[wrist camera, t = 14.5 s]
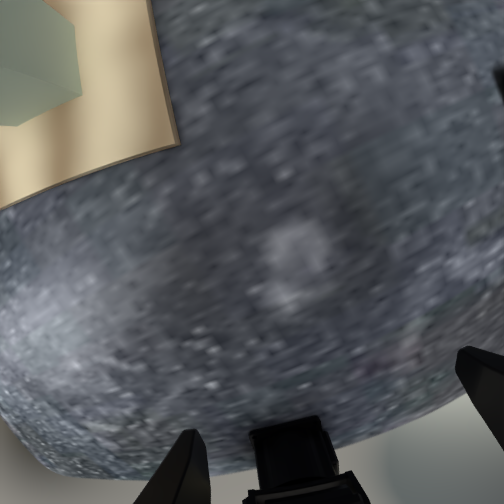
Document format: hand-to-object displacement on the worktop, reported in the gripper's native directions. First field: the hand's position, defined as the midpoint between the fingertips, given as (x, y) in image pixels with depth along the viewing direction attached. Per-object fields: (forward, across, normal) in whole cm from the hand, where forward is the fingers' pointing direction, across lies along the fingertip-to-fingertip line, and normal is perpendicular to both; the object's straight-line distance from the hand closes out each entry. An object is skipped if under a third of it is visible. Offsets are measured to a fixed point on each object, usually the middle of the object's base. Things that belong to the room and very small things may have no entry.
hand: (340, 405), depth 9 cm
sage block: (+10, +11, -16) cm, 22 cm away
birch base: (+13, +11, -16) cm, 23 cm away
